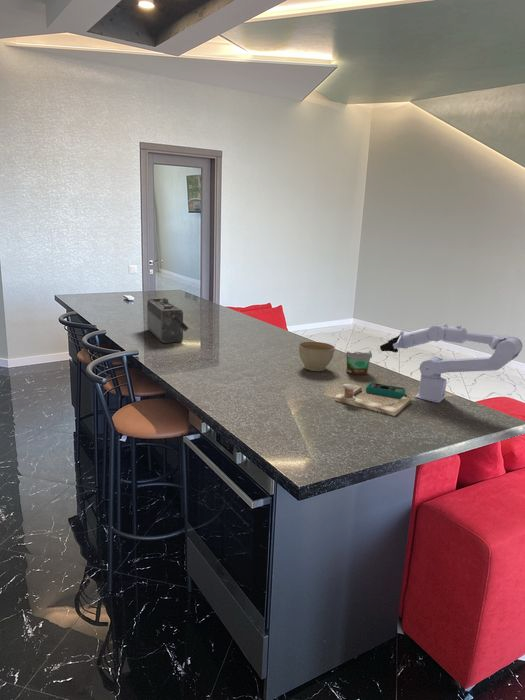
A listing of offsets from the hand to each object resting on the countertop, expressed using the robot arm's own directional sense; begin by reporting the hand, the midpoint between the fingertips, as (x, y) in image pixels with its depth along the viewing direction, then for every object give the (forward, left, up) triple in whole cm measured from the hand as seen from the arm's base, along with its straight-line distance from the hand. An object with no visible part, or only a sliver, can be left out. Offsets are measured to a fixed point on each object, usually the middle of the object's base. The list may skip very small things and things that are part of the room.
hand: (384, 345), depth 197 cm
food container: (+13, -8, -17) cm, 23 cm away
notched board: (-5, +21, -17) cm, 28 cm away
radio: (+125, -1, -17) cm, 126 cm away
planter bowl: (+32, -2, -17) cm, 36 cm away
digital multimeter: (-5, +8, -17) cm, 20 cm away
